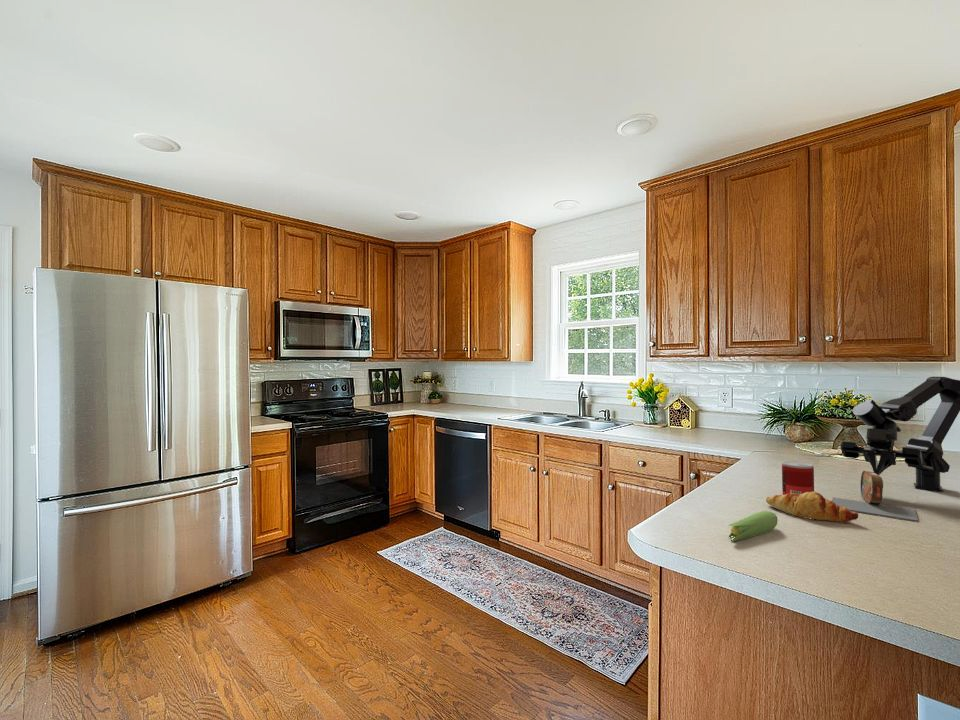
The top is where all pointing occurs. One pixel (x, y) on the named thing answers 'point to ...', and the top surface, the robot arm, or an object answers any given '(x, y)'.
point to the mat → (877, 509)
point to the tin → (871, 487)
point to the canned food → (797, 477)
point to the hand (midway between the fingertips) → (876, 475)
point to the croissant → (811, 507)
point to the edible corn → (753, 525)
